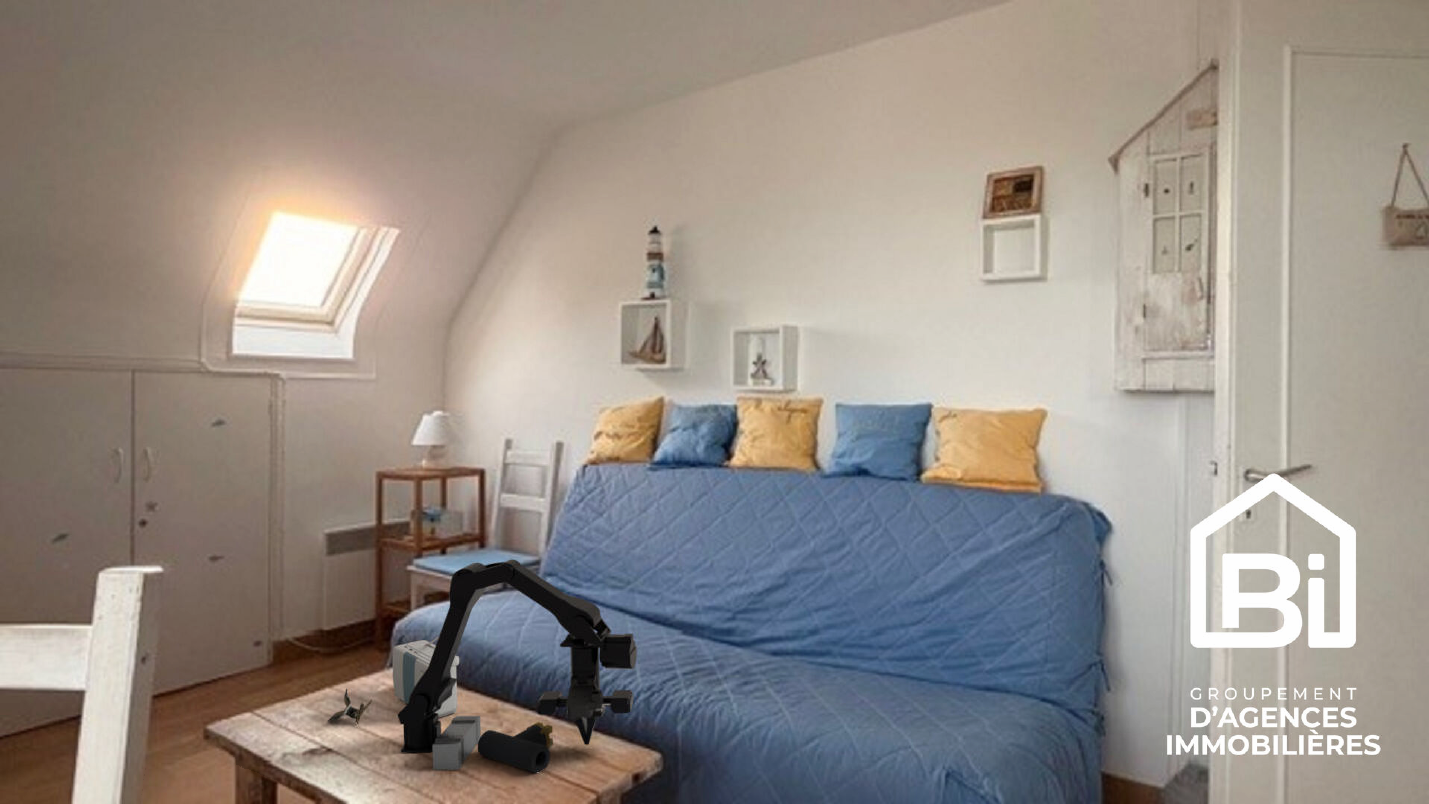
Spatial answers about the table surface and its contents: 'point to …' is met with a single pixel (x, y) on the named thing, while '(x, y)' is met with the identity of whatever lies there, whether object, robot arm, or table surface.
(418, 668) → the stereo radio cassette player
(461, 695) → the table surface
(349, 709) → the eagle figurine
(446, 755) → the grey stepped block
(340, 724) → the table surface
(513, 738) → the pipe connector
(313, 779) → the table surface
